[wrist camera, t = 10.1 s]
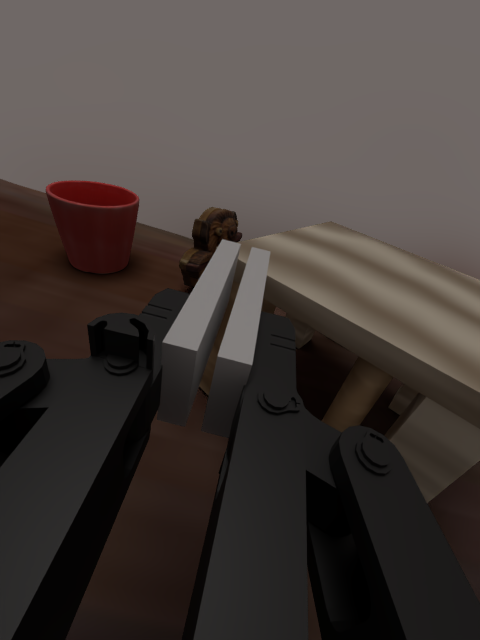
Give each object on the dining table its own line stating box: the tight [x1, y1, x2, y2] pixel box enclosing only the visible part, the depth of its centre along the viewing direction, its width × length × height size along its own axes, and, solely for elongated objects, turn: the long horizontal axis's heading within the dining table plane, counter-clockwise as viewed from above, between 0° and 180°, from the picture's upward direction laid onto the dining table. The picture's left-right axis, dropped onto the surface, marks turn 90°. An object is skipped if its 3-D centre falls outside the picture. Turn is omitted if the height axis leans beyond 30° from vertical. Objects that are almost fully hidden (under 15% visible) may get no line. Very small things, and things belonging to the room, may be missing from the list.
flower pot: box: [46, 181, 139, 274], centre depth 40 cm, size 11×11×10 cm
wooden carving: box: [179, 207, 242, 287], centre depth 43 cm, size 16×5×10 cm, turn 163°
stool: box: [216, 222, 480, 503], centre depth 25 cm, size 17×17×14 cm
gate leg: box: [199, 281, 393, 432], centre depth 22 cm, size 13×4×12 cm, turn 44°
